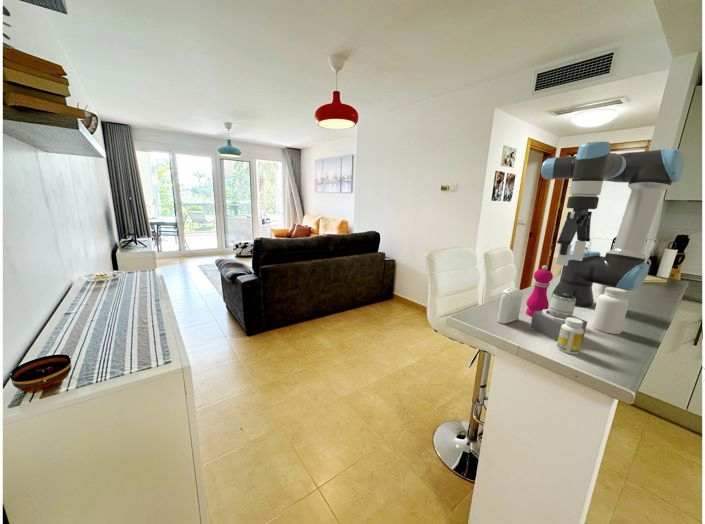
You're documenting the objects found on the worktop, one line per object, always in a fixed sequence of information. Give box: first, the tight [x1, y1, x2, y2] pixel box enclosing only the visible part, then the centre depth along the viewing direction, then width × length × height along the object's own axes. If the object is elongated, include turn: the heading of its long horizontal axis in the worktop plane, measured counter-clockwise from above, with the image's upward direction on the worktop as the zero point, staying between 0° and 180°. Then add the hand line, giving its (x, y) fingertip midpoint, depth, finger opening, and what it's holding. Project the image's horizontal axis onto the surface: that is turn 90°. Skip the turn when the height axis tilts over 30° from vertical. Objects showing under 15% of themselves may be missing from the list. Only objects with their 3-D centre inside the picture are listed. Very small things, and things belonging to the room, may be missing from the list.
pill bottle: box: [591, 286, 629, 335], centre depth 98 cm, size 8×8×15 cm
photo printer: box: [495, 287, 524, 325], centre depth 102 cm, size 10×4×12 cm, turn 123°
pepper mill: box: [525, 264, 554, 318], centre depth 108 cm, size 7×7×20 cm
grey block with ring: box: [529, 308, 588, 342], centre depth 94 cm, size 11×10×7 cm
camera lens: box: [549, 292, 576, 319], centre depth 93 cm, size 6×6×8 cm
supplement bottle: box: [556, 317, 585, 355], centre depth 83 cm, size 5×5×10 cm
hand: (569, 262), depth 92 cm, fingers open, 13 cm apart
